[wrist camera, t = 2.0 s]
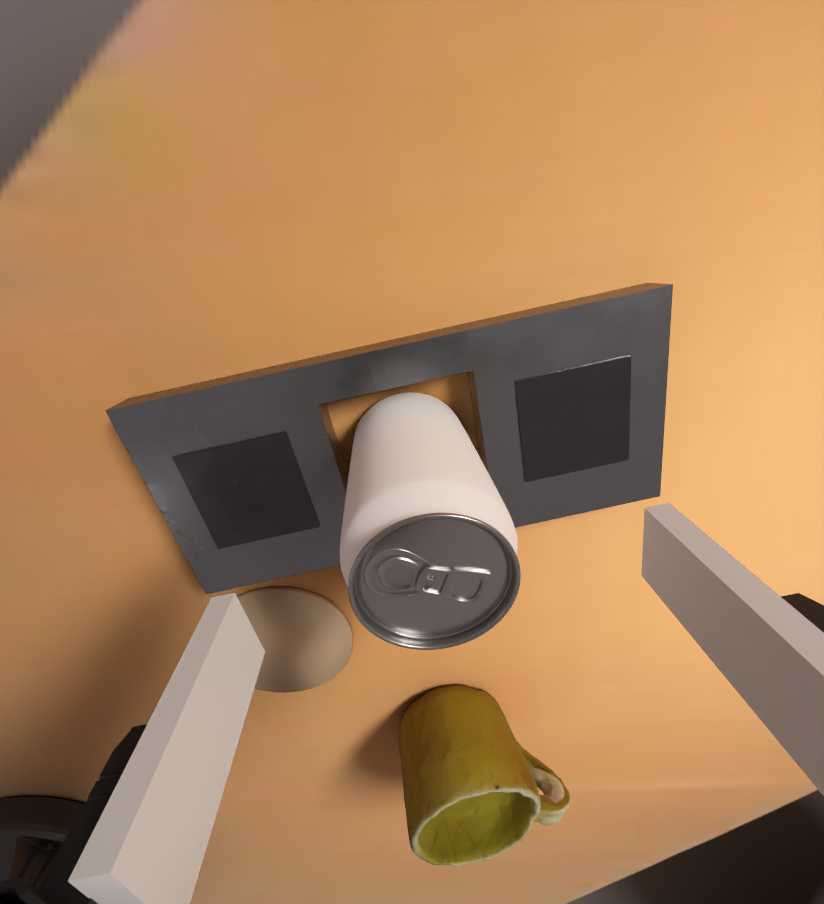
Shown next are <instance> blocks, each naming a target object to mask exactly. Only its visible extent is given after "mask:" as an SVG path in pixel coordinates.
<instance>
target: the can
mask: <svg viewBox="0 0 824 904" xmlns="http://www.w3.org/2000/svg"><path fill="white" fill-rule="evenodd" d="M517 551H518V541H517V534H516V530H515V527H514V524H513V521H512V518H511V516H510V514H509V512H508V510H507V508H506V506H505V504H504V502H503V500H502V498H501V496H500V494H499V492H498V490H497V488H496V487H495V485H494V483H493V481H492V479H491V477H490V475H489V473H488V472H487V470H486V468H485V466H484V464H483V462H482V460H481V459H480V457H479V455H478V453H477V451H476V449H475V447H474V446H473V444H472V442H471V440H470V438H469V436H468V435H467V433H466V431H465V429H464V427H463V426H462V424H461V422H460V421H459V419H458V417H457V416H456V414H455V413H454V412H453V411H452V410H451V409H450V408H449V407H448V406H447V405H446V404H445V403H443V402H442V401H440V400H439V399H437V398H435V397H432V396H430V395H426V394H422V393H415V392H407V393H399V394H395V395H391V396H389V397H386V398H384V399H382V400H380V401H379V402H377V403H376V404H374V405H373V406H372V407H371V408H370V409H369V410H368V411H367V412H366V413H365V414H364V415H363V417H362V418H361V419H360V421H359V423H358V425H357V428H356V431H355V436H354V441H353V448H352V455H351V462H350V469H349V476H348V484H347V491H346V499H345V507H344V514H343V522H342V531H341V540H340V565H341V571H342V574H343V577H344V580H345V582H346V584H347V586H348V594H349V600H350V603H351V606H352V609H353V611H354V613H355V615H356V616H357V618H358V619H359V621H360V622H361V623H362V624H363V625H364V626H365V627H366V628H367V629H368V630H369V631H370V632H371V633H373V634H374V635H376V636H377V637H379V638H380V639H382V640H384V641H386V642H389V643H391V644H394V645H397V646H400V647H404V648H410V649H418V650H435V649H443V648H449V647H453V646H457V645H460V644H463V643H466V642H468V641H471V640H473V639H475V638H477V637H479V636H481V635H482V634H484V633H486V632H487V631H489V630H490V629H491V628H493V627H494V626H495V625H496V624H497V623H498V622H499V621H500V620H501V619H502V618H503V617H504V616H505V615H506V614H507V612H508V611H509V609H510V608H511V606H512V605H513V603H514V601H515V599H516V596H517V593H518V590H519V586H520V565H519V561H518V558H517Z"/></svg>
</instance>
